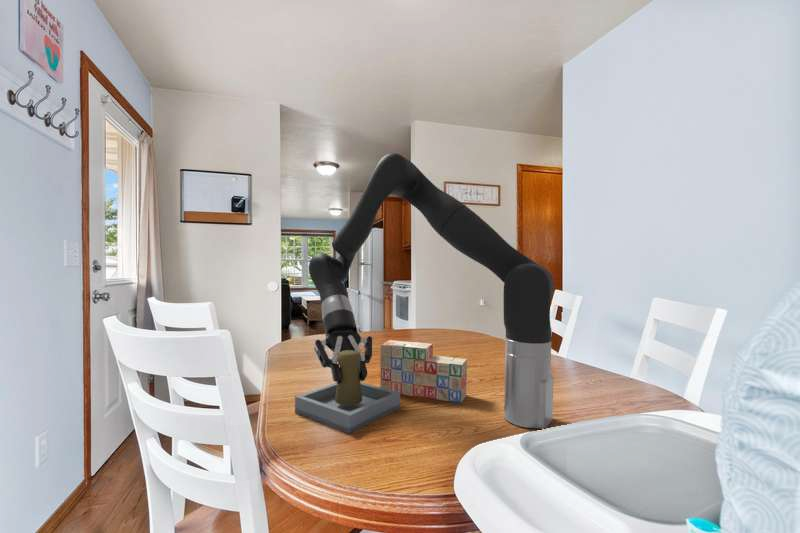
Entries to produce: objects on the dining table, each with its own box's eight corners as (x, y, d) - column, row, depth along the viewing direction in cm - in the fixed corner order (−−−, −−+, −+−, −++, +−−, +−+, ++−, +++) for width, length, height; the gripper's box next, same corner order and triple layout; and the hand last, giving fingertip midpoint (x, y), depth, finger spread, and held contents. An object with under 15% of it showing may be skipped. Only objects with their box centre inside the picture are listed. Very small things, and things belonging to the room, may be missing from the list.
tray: (400, 408, 87) (400, 392, 87) (349, 433, 74) (349, 415, 74) (347, 392, 97) (347, 378, 97) (294, 412, 83) (295, 396, 83)
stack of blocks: (466, 395, 96) (467, 346, 96) (461, 404, 90) (462, 352, 90) (389, 384, 104) (390, 339, 104) (379, 391, 99) (380, 343, 98)
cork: (357, 406, 82) (358, 354, 82) (330, 403, 83) (331, 353, 83) (365, 396, 88) (366, 348, 87) (340, 394, 89) (341, 346, 89)
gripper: (311, 309, 89) (321, 375, 78) (369, 307, 95) (386, 368, 84) (306, 328, 94) (316, 392, 83) (362, 325, 100) (378, 385, 89)
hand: (351, 380), depth 83 cm, fingers closed on cork, 4 cm apart
